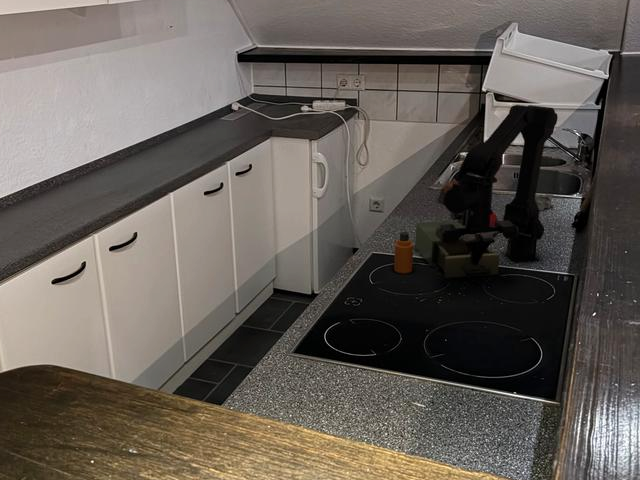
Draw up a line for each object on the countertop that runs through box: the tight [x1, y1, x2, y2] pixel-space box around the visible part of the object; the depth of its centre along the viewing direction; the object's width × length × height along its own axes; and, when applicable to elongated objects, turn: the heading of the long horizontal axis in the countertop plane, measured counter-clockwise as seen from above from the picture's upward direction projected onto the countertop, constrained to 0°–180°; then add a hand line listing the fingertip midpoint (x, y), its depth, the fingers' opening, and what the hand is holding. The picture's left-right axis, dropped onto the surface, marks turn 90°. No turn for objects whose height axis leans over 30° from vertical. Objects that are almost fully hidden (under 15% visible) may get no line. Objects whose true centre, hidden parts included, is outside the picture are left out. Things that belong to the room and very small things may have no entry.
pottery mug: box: [437, 178, 461, 204], centre depth 247 cm, size 12×10×8 cm
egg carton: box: [514, 192, 554, 211], centre depth 241 cm, size 11×8×4 cm
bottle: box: [393, 231, 414, 274], centre depth 194 cm, size 5×5×10 cm
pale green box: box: [415, 220, 476, 268], centre depth 204 cm, size 15×15×7 cm
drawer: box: [435, 242, 500, 279], centre depth 192 cm, size 18×13×5 cm
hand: (474, 264), depth 186 cm, fingers closed
